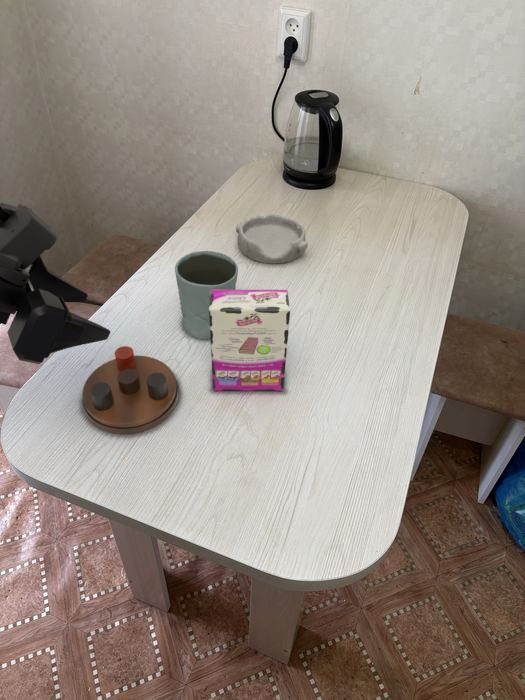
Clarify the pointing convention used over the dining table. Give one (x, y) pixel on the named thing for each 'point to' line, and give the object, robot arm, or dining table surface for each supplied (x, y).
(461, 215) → the dining table surface
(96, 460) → the dining table surface
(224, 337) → the candy bar box
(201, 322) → the grey green pot
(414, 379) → the dining table surface
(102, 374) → the spice rack
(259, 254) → the dish
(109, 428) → the base
